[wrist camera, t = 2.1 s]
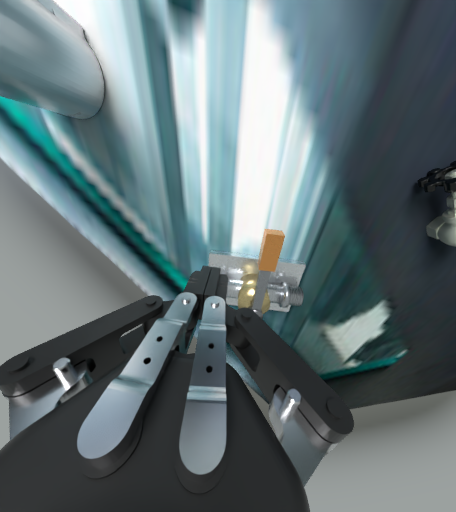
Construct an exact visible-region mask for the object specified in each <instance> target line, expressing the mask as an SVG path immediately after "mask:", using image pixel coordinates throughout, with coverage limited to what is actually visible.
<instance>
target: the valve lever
mask: <svg viewBox="0 0 456 512" xmlns="http://www.w3.org/2000/svg"><path fill="white" fill-rule="evenodd" d="M284 237H285V235H284V234H283V232H282V231H279V230H270V229H265V230H264V235H263V240H262V244H261V249H260V254H259V259H258V269H259V274H258V279H257V283H256V287H255V292H254V296H253V301H252V305H250V306H249V307H248V308H249V309H252V310H253V311H254V312H255V313H256V314H257V315H258V316H259V317H260V318H261V319H262V318H263V315H262V304H263V300H264V297H265V293H266V289H267V285H268V281H269V278H270V274H271V272H275V270H276V266H277V263H278V259H279V256H280V252H281V248H282V245H283V241H284Z"/></svg>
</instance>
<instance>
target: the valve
mask: <svg viewBox="0 0 456 512" xmlns="http://www.w3.org/2000/svg"><path fill="white" fill-rule="evenodd" d="M444 174H446V175H445V177H444ZM428 176H429V177H423V178H421V179H419V180H418V186H419V187H424V190H425V192H432V191H435V187H436V186H444V190H445V192H447V193H451V195H449V196H448V197H447V199H446V200H447V207H450V208H449V210H446V211H445V212H443V214H442V216H438V217H436V218H435V219H434V220H433V221H432V222H431V223H429V224H428V225H427V226H426V229H427V235H428V236H430V237H433V238H435V239H440V240H441V241H442V242H443V243H445V244H447V245H450V246H455V247H456V161H454V162H452V163H451V164H450V167H447V168H444V169H440V168H437V169H433V170H431V171H429V172H428Z"/></svg>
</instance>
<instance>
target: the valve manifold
mask: <svg viewBox="0 0 456 512" xmlns="http://www.w3.org/2000/svg"><path fill="white" fill-rule="evenodd" d="M258 259H259V256H257V255H249V254H241V253H233V252H224V251H216V250H210V253H209V266H210V267H218V268H221V273H220V274H226V275H227V277H228V286H227V294H226V303H227V304H228V305H236V306H238V307H239V308H244V307H245V308H248V307H249V306H250V305H252V301H253V296H254V292H255V287H256V283H257V279H258V274H259V269H258ZM305 266H306V265H305V263H304V262H303V261H298V260H290V259H282V258H279V259H278V263H277V266H276V270H275V272H271V274H270V278H269V281H268V285H267V289H266V293H265V297H264V300H263V304H262V314H264V313H265V312H267V311H268V310H276V311H284V312H289V309H290V306H291V305H294V306H301V304H302V302H303V290H302V288H301V287H298V285H299V282H300V279H301V277H302V274H303V271H304V269H305Z"/></svg>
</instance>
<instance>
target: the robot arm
mask: <svg viewBox="0 0 456 512" xmlns="http://www.w3.org/2000/svg"><path fill="white" fill-rule="evenodd" d="M0 96H2V97H5V98H9V99H12V100H15V101H19V102H22V103H26V104H29V105H32V106H36V107H39V108H43V109H46V110H49V111H53V112H56V113H58V114H62V115H65V116H70V117H73V118H77V119H87V118H90V117H92V116H94V115H95V114H96V113H97V112H98V111H99V109H100V108H101V105H102V103H103V98H104V80H103V75H102V71H101V68H100V65H99V62H98V60H97V58H96V56H95V54H94V52H93V51H92V49H91V48H90V46H89V45H88V43H87V41H86V40H85V37H84V34H83V29H82V26H81V25H80V24H79V23H78V22H77V21H76V20H74V19H73V18H72V17H71V16H70V15H69V14H68V13H67V12H65V11H64V10H63V9H62V8H61V7H60V6H59V5H58V4H56V3H55V2H54V1H53V0H0ZM220 273H221V268H218V267H210V266H203V267H202V269H201V271H195V272H194V273H192V274H191V276H190V279H189V281H188V283H187V285H186V287H185V289H184V291H183V293H181V294H179V295H178V296H177V297H176V299H175V300H171V301H163V300H162V298H161V297H159V296H155V295H152V296H148V297H145V298H143V299H141V300H138V301H136V302H134V303H132V304H130V305H127V306H125V307H123V308H121V309H118V310H116V311H114V312H112V313H110V314H107V315H105V316H103V317H101V318H98V319H96V320H94V321H92V322H90V323H87V324H85V325H83V326H81V327H78V328H76V329H74V330H72V331H69V332H67V333H65V334H63V335H61V336H58V337H56V338H54V339H52V340H49V341H47V342H45V343H43V344H40V345H38V346H36V347H34V348H32V349H29V350H27V351H25V352H23V353H21V354H18V355H17V356H14V357H12V358H11V359H9V360H8V361H6V362H5V363H4V364H2V365H1V366H0V390H1V391H2V394H3V395H4V397H6V398H7V399H8V400H9V417H10V441H9V442H8V443H7V444H6V445H5V446H4V447H3V448H2V449H1V450H0V512H310V509H309V504H308V500H307V496H306V492H305V489H304V486H305V485H306V483H307V482H308V480H309V479H310V477H311V476H312V474H313V473H314V471H315V469H316V468H317V466H318V465H319V463H320V461H321V460H322V459H323V457H324V456H325V455H327V454H328V453H329V452H330V451H331V450H332V449H333V448H334V447H335V446H336V445H337V444H339V443H340V442H341V441H342V440H343V439H344V438H345V437H346V436H347V435H348V434H349V433H350V432H352V430H353V427H354V420H353V416H352V414H351V412H350V410H349V408H348V406H347V405H346V404H345V402H344V401H343V400H342V399H341V398H340V397H339V396H338V395H337V394H336V393H335V392H334V391H333V390H332V389H331V388H330V387H329V386H328V385H327V384H326V383H325V382H324V381H323V380H322V379H321V378H320V377H319V376H318V375H317V374H316V373H315V372H314V371H313V370H312V369H311V368H310V367H309V366H308V365H307V364H306V363H305V362H304V361H303V360H302V359H301V358H300V357H299V356H298V355H297V354H296V353H295V352H294V351H293V350H292V349H291V348H290V347H289V346H288V345H287V344H286V343H285V342H284V341H283V340H282V339H281V338H280V337H279V336H278V335H277V334H276V333H275V332H274V331H273V330H272V329H271V328H270V327H269V326H268V325H267V324H266V323H265V322H264V321H263V320H262V319H261V318H260V317H259V316H258V315H257V314H256V313H255V312H254V311H253V310H252V309H249V308H245V307H244V308H239V309H238V310H235V309H233V308H231V307H229V306H228V304H227V303H226V294H227V286H228V277H227V275H226V274H220ZM198 319H200V320H202V321H201V325H200V328H199V333H198V339H197V345H196V351H195V353H193V354H187V351H188V348H189V346H190V343H191V340H192V338H193V335H194V332H195V330H196V325H197V321H198ZM140 324H142V326H140V327H139V328H137V329H135V330H133V331H131V332H130V333H128V334H126V335H124V336H122V334H124V333H125V332H127V331H129V330H131V329H133V328H134V327H136V326H138V325H140ZM121 336H122V337H121ZM226 342H228V343H230V345H231V348H232V349H233V351H234V352H235V354H236V355H237V357H238V358H239V359H240V361H241V362H242V364H243V365H244V367H245V368H246V369H247V371H248V372H249V374H250V375H251V377H252V378H253V380H254V381H255V382H256V384H257V385H258V387H259V388H260V390H261V391H262V392H263V394H264V395H265V397H266V398H267V400H268V401H269V402H270V405H269V418H270V421H271V423H272V425H273V427H274V429H275V432H276V435H275V433H274V432H273V430H272V428H271V427H270V425H269V423H268V422H267V420H266V419H265V417H264V415H263V413H262V412H261V410H260V409H259V407H258V405H257V404H256V402H255V400H254V398H253V397H252V395H251V393H250V392H249V390H248V389H247V387H246V385H245V384H244V382H243V380H242V379H241V377H240V375H239V374H238V373H237V371H236V370H235V369H234V368H233V367H232V366H230V365H229V364H228V363H226ZM276 436H277V437H276Z"/></svg>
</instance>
